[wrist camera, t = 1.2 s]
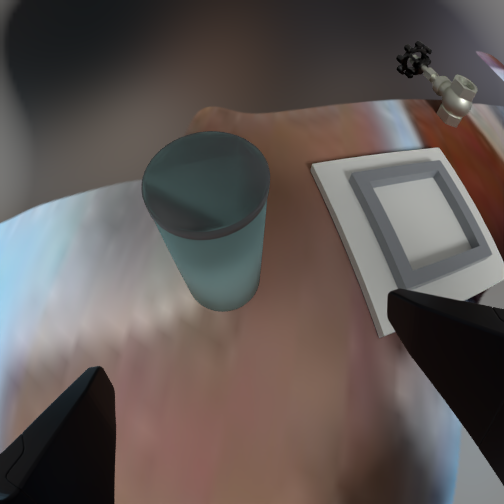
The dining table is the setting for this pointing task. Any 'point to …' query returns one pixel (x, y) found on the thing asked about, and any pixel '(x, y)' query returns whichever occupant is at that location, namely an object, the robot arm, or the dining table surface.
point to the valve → (440, 84)
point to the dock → (408, 227)
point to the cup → (211, 213)
